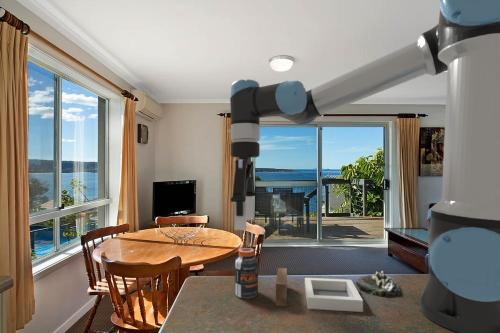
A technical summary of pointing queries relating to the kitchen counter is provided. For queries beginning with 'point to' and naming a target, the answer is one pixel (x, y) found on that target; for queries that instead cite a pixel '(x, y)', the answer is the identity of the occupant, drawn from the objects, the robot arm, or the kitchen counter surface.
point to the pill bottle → (246, 274)
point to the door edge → (281, 287)
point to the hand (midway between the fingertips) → (245, 224)
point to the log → (378, 285)
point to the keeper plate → (332, 295)
